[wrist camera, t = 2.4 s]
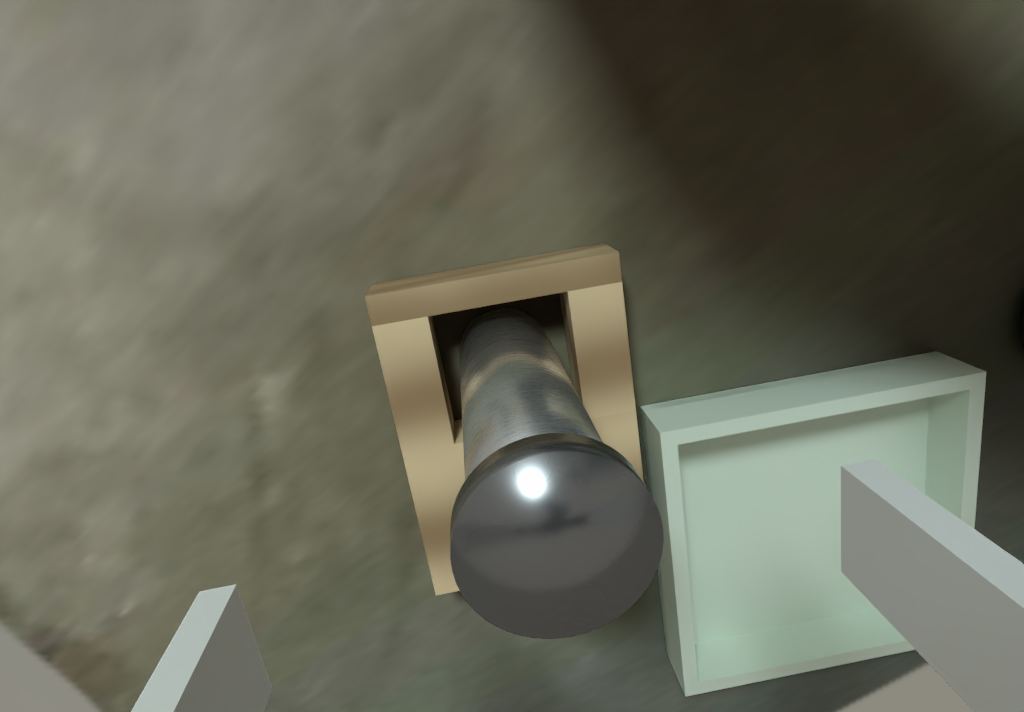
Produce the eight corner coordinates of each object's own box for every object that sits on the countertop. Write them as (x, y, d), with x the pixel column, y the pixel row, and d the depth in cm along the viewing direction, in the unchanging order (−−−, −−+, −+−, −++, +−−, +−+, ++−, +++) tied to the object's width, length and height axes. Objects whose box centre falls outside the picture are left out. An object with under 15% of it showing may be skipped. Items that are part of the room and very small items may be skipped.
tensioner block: (372, 284, 27) (355, 312, 22) (604, 243, 28) (636, 262, 23) (437, 561, 32) (434, 634, 27) (636, 523, 32) (669, 588, 27)
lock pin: (440, 309, 28) (430, 475, 14) (549, 290, 28) (653, 433, 14) (461, 410, 29) (471, 656, 15) (564, 391, 29) (671, 616, 15)
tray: (639, 406, 30) (660, 432, 27) (936, 351, 31) (986, 371, 28) (666, 651, 34) (685, 696, 32) (923, 599, 35) (965, 639, 32)
